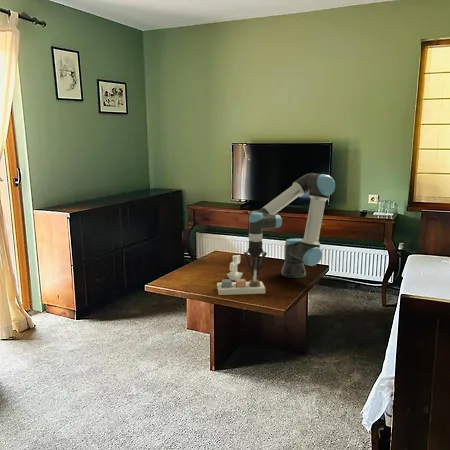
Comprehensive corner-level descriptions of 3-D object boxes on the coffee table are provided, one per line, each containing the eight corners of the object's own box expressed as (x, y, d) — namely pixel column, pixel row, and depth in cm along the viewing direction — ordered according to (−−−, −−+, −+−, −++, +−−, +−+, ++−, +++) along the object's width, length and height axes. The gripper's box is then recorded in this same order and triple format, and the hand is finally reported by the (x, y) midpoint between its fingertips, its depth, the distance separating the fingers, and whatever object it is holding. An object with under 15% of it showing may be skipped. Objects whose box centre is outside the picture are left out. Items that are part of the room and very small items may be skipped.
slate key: (230, 286, 253) (230, 279, 252) (231, 289, 248) (231, 282, 248) (221, 286, 253) (221, 279, 252) (222, 289, 248) (222, 282, 247)
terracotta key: (244, 285, 254) (244, 278, 253) (245, 288, 249) (245, 281, 248) (235, 285, 253) (235, 279, 253) (236, 288, 249) (236, 281, 248)
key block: (261, 286, 259) (261, 281, 258) (265, 293, 247) (265, 288, 246) (217, 287, 256) (217, 282, 256) (218, 294, 245) (218, 289, 244)
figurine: (225, 280, 269) (225, 256, 266) (234, 276, 277) (234, 253, 274) (235, 282, 265) (235, 258, 262) (244, 278, 273) (244, 254, 270)
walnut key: (258, 286, 255) (258, 279, 254) (259, 289, 250) (259, 282, 249) (249, 286, 254) (249, 279, 254) (251, 289, 249) (251, 282, 249)
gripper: (265, 238, 251) (264, 278, 256) (243, 238, 250) (242, 279, 254) (268, 241, 244) (267, 282, 248) (244, 242, 242) (244, 283, 247)
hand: (254, 280), depth 251 cm, fingers closed
